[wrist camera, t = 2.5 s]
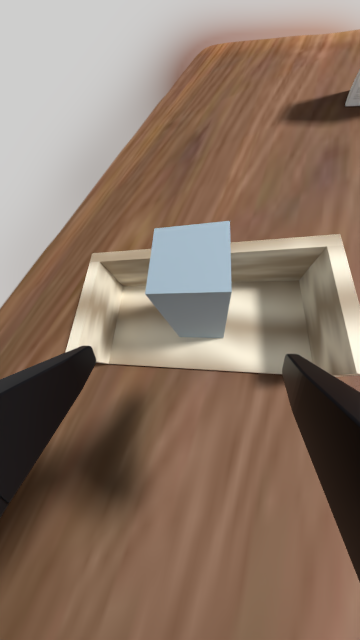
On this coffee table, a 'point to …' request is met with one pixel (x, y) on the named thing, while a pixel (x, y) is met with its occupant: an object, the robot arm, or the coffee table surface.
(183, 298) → the pale blue block
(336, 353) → the birch crate
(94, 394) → the coffee table surface
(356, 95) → the ink box
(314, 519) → the coffee table surface
